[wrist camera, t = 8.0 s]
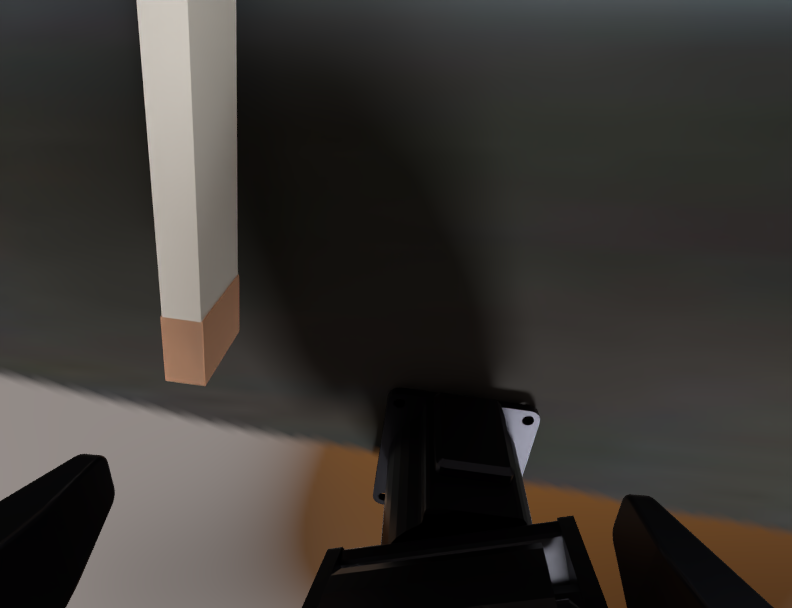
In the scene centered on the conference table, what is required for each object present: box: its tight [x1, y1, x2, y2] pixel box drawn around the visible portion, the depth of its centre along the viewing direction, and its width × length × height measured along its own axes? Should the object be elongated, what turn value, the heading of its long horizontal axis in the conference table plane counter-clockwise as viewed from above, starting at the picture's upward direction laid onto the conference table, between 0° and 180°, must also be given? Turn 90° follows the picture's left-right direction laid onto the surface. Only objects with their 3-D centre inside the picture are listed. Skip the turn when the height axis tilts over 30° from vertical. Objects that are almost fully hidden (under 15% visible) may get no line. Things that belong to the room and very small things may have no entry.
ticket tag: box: [136, 0, 239, 386], centre depth 15 cm, size 16×1×4 cm, turn 173°
